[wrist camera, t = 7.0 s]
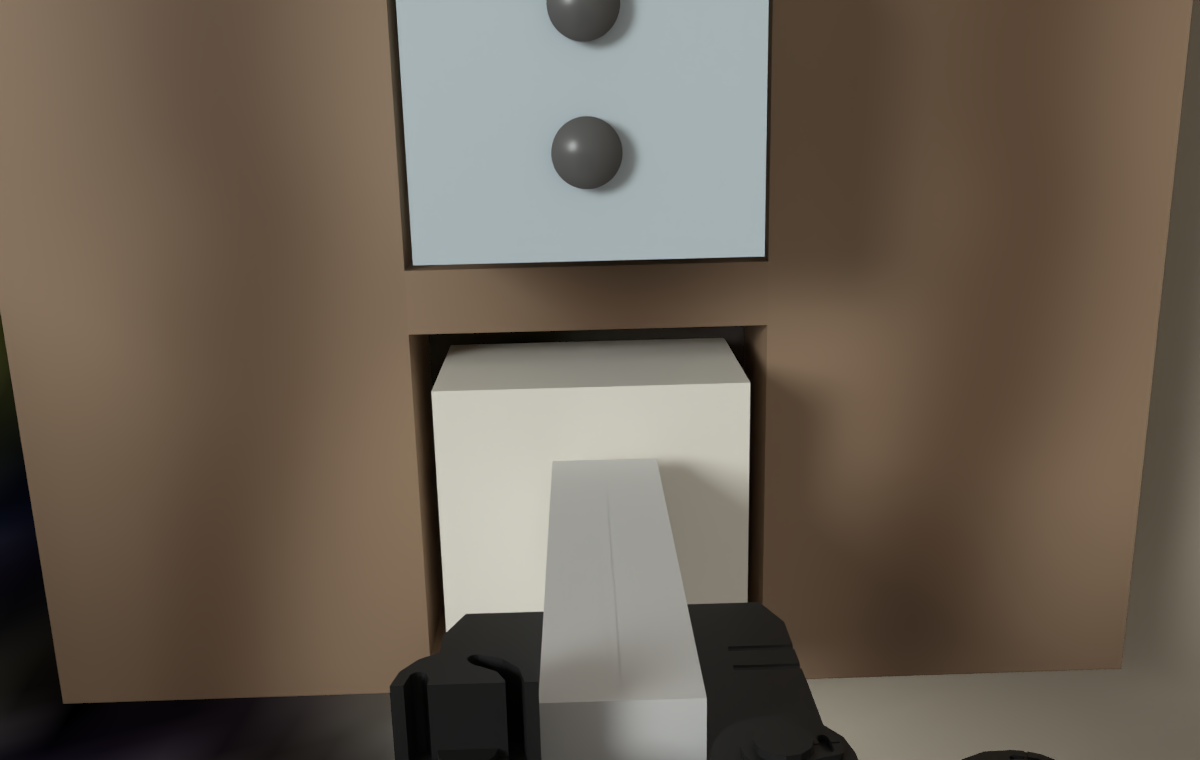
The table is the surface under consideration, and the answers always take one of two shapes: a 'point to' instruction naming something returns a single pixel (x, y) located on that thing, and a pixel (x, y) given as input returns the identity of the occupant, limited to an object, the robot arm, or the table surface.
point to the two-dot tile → (584, 129)
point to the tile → (586, 457)
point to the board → (579, 302)
